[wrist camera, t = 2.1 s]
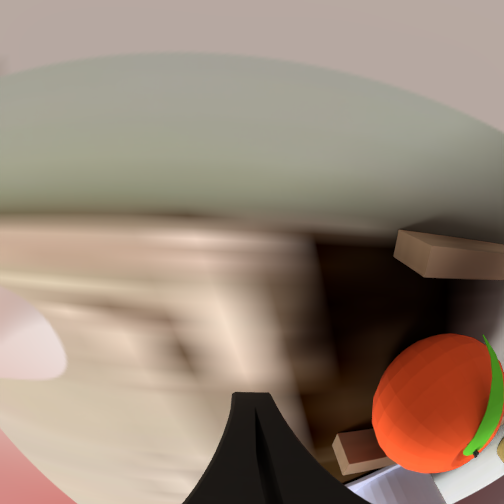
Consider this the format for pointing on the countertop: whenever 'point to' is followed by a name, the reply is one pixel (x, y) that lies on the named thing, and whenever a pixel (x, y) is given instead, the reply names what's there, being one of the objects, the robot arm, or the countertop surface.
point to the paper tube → (501, 450)
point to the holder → (430, 266)
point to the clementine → (439, 403)
